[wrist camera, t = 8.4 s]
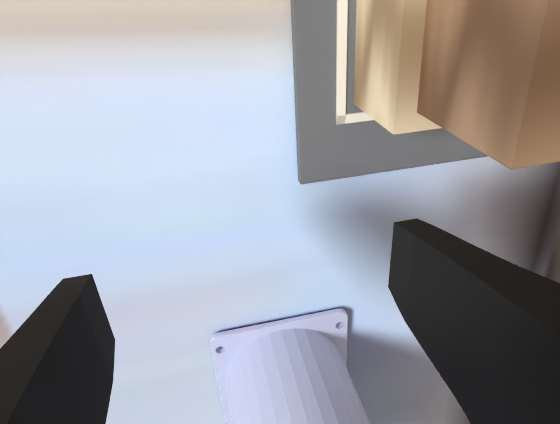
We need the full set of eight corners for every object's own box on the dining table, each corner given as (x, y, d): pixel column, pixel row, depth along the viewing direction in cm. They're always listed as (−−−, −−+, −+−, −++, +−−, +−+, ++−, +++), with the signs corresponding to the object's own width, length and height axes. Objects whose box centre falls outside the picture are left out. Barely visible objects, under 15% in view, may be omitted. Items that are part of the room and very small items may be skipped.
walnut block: (530, 95, 16) (662, 143, 12) (416, 112, 15) (511, 169, 11) (562, -47, 14) (740, -53, 9) (430, -35, 13) (556, -35, 9)
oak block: (478, 88, 20) (542, 114, 16) (353, 104, 19) (393, 134, 15) (505, -68, 17) (590, -77, 13) (358, -59, 16) (409, -65, 12)
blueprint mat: (539, 143, 23) (547, 148, 22) (298, 179, 21) (301, 185, 20) (625, -186, 16) (640, -191, 16) (283, -180, 14) (287, -185, 14)
